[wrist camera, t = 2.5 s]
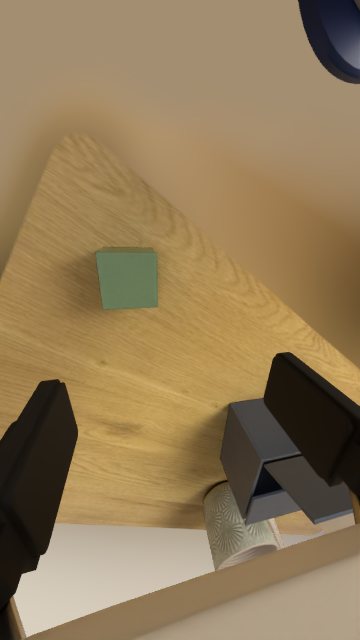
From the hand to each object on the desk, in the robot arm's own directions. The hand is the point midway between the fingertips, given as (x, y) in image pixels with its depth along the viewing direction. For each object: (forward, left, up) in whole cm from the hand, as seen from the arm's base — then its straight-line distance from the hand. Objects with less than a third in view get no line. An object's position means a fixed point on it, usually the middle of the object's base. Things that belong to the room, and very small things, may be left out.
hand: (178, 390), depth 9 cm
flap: (+9, +25, -3) cm, 27 cm away
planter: (+37, +34, -16) cm, 53 cm away
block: (-1, -3, -16) cm, 17 cm away
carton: (+17, +29, -16) cm, 37 cm away
